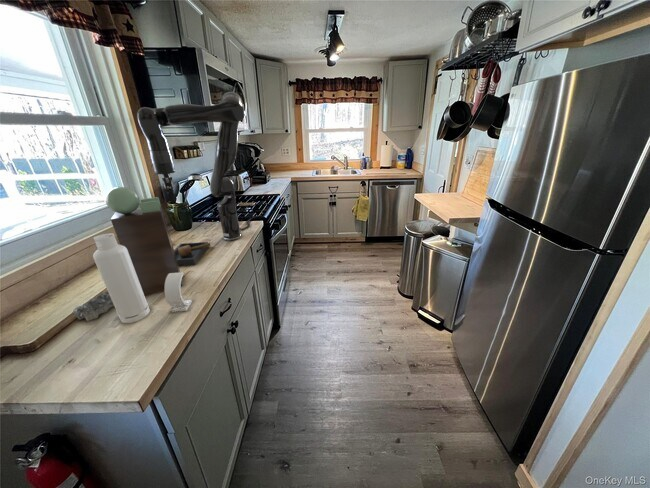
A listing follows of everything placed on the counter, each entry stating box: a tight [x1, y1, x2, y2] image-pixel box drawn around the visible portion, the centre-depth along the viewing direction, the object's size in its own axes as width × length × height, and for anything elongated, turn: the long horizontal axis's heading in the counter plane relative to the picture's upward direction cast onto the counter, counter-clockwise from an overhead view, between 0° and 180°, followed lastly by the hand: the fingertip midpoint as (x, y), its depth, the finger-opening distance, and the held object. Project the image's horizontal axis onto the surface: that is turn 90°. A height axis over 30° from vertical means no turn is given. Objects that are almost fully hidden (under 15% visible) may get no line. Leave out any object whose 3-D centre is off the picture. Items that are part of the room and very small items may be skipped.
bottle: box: [92, 232, 151, 324], centre depth 80 cm, size 8×8×28 cm
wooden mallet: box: [178, 242, 212, 257], centre depth 125 cm, size 5×14×5 cm, turn 119°
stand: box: [110, 206, 183, 297], centre depth 96 cm, size 10×14×30 cm
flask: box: [104, 186, 162, 214], centre depth 88 cm, size 9×14×9 cm, turn 120°
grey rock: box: [72, 292, 115, 322], centre depth 87 cm, size 11×8×4 cm
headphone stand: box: [164, 271, 193, 313], centre depth 86 cm, size 5×6×12 cm
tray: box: [173, 241, 210, 267], centre depth 125 cm, size 20×14×3 cm
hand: (172, 199), depth 114 cm, fingers open, 8 cm apart
